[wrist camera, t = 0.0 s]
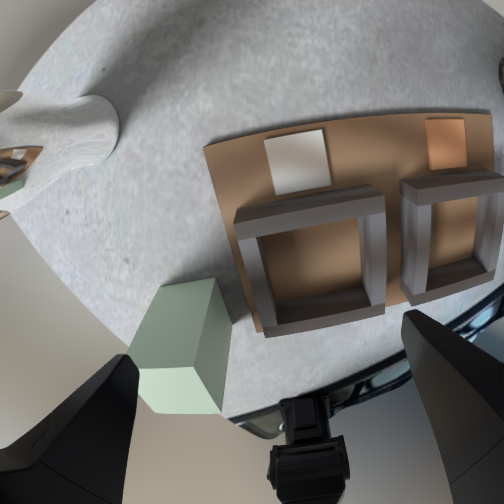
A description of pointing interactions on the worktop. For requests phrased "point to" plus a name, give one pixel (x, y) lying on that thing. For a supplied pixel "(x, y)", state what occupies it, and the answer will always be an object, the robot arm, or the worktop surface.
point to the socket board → (359, 215)
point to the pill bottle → (502, 73)
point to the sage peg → (184, 349)
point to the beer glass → (49, 141)
